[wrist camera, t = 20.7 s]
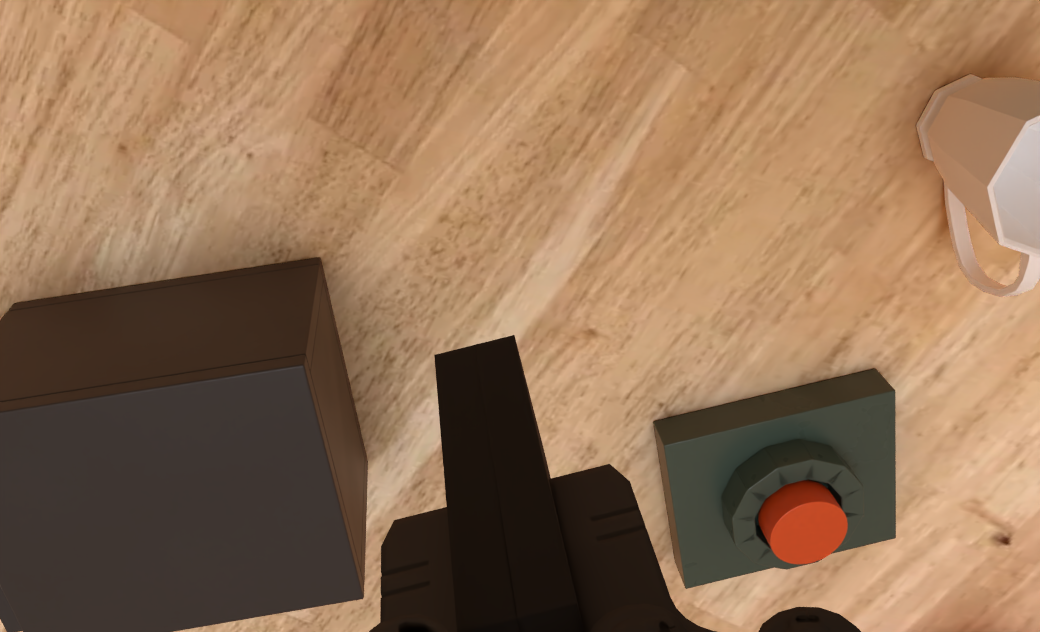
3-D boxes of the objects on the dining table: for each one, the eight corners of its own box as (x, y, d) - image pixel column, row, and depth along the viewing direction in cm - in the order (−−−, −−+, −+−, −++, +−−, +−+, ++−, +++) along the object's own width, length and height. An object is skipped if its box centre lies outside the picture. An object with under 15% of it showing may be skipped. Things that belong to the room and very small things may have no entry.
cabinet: (97, 506, 47) (34, 656, 39) (13, 302, 41) (-82, 425, 33) (368, 462, 48) (364, 599, 39) (320, 256, 42) (304, 364, 34)
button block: (875, 368, 49) (913, 410, 46) (877, 512, 54) (912, 560, 50) (652, 421, 49) (673, 467, 45) (674, 561, 54) (695, 613, 50)
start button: (832, 472, 47) (847, 493, 46) (834, 531, 49) (849, 554, 48) (755, 490, 47) (767, 512, 46) (760, 549, 49) (772, 572, 48)
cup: (1050, 38, 42) (1185, 82, 35) (1004, 244, 47) (1116, 320, 39) (900, 49, 41) (1007, 96, 34) (869, 257, 46) (957, 336, 39)
